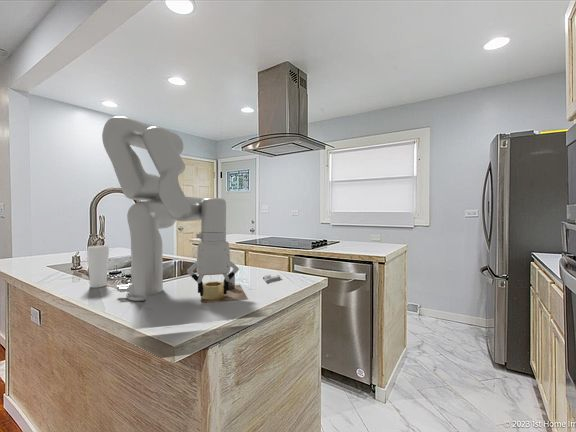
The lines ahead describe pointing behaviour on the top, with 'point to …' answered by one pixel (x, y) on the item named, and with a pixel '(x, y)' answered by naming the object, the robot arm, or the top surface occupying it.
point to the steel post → (232, 283)
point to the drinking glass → (98, 265)
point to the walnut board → (230, 295)
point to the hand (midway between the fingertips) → (213, 293)
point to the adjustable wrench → (271, 278)
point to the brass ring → (213, 290)
